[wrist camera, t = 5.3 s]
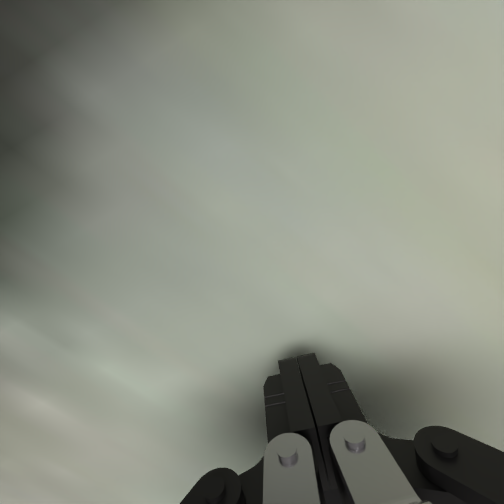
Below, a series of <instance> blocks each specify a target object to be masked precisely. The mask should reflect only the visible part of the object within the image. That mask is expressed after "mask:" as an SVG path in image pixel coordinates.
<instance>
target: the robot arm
mask: <svg viewBox="0 0 504 504" xmlns="http://www.w3.org/2000/svg"><path fill="white" fill-rule="evenodd" d="M297 360H298V364H297V361H296V357H293V358H289V359H284V360H279V361H278V363H279V369H280V374H278V375H273V376H268V378H267V380H266V382H265V384H264V397H265V411H266V424H267V436H268V445H267V447H266V449H265V452H264V456H263V458H262V459H261V461H260V462H259V463H258V464H257V465H255V466H254V467H253V468H251V469H249V470H248V471H246V472H244V473H242V474H240V475H239V476H238V475H237V474H236V473H235V472H234V471H233V470H231V469H228V468H217V469H214V470H211V471H209V472H208V473H206V474H205V475H204V476H203V477H201V478H200V480H199V481H198V482H197V483H196V484H195V486H194V487H193V488H192V489H191V490H190V492H189V493H188V494H187V495H186V497H185V498H184V499H183V500H182V501H181V503H180V504H326V501H325V497H324V492H323V491H328V490H329V489H328V484H327V479H326V475H325V470H326V473H327V477H328V481H329V484H330V488H331V490H332V489H337V488H338V490H339V493H340V496H341V499H342V503H343V504H504V452H502V451H500V450H498V449H495V448H493V447H491V446H489V445H486V444H484V443H482V442H480V441H477V440H475V439H473V438H470V437H468V436H466V435H464V434H461V433H459V432H457V431H455V430H452V429H450V428H446V427H441V426H429V427H425V428H423V429H421V430H419V431H418V432H417V433H416V435H415V437H414V441H413V440H402V439H394V438H389V437H386V436H384V435H381V434H379V433H378V432H377V431H376V430H375V429H374V428H373V427H372V426H370V425H369V424H368V423H367V422H366V420H365V418H364V416H363V414H362V412H361V410H360V408H359V406H358V404H357V402H356V400H355V398H354V396H353V394H352V392H351V390H350V389H349V386H348V384H347V382H346V381H345V378H344V376H343V374H342V372H341V370H340V369H338V368H337V367H336V366H334V365H333V364H331V363H329V364H324V365H319V363H318V360H317V358H316V355H315V353H312V354H307V355H302V356H298V357H297ZM298 365H299V368H298ZM299 369H300V371H299ZM300 374H301V375H300ZM321 455H322V456H321ZM322 459H323V461H322ZM323 462H324V466H325V470H324V466H323Z"/></svg>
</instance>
